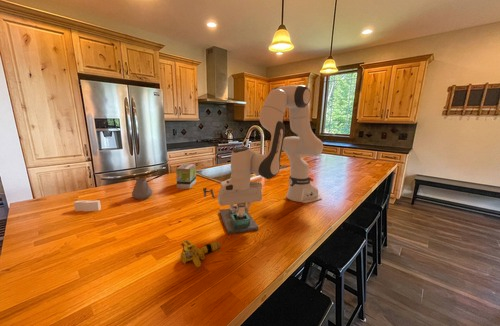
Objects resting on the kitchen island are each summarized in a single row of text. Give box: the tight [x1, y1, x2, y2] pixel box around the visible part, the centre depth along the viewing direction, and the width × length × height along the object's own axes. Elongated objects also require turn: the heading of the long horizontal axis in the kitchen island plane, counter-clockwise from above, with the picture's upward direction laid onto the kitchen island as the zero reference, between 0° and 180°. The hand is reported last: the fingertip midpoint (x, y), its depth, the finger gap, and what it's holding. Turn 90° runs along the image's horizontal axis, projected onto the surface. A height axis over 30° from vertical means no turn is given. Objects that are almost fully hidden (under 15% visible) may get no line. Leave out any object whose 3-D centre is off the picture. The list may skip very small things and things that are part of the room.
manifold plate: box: [218, 204, 259, 236], centre depth 100 cm, size 14×22×4 cm, turn 18°
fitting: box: [236, 203, 247, 220], centre depth 95 cm, size 4×4×10 cm
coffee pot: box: [131, 171, 169, 201], centre depth 127 cm, size 21×12×15 cm, turn 111°
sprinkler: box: [179, 239, 221, 268], centre depth 76 cm, size 19×4×15 cm
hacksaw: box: [203, 187, 218, 200], centre depth 134 cm, size 24×10×2 cm, turn 15°
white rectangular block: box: [73, 199, 102, 213], centre depth 108 cm, size 15×11×6 cm
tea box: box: [175, 163, 197, 190], centre depth 149 cm, size 15×10×15 cm
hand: (240, 211), depth 95 cm, fingers open, 5 cm apart
